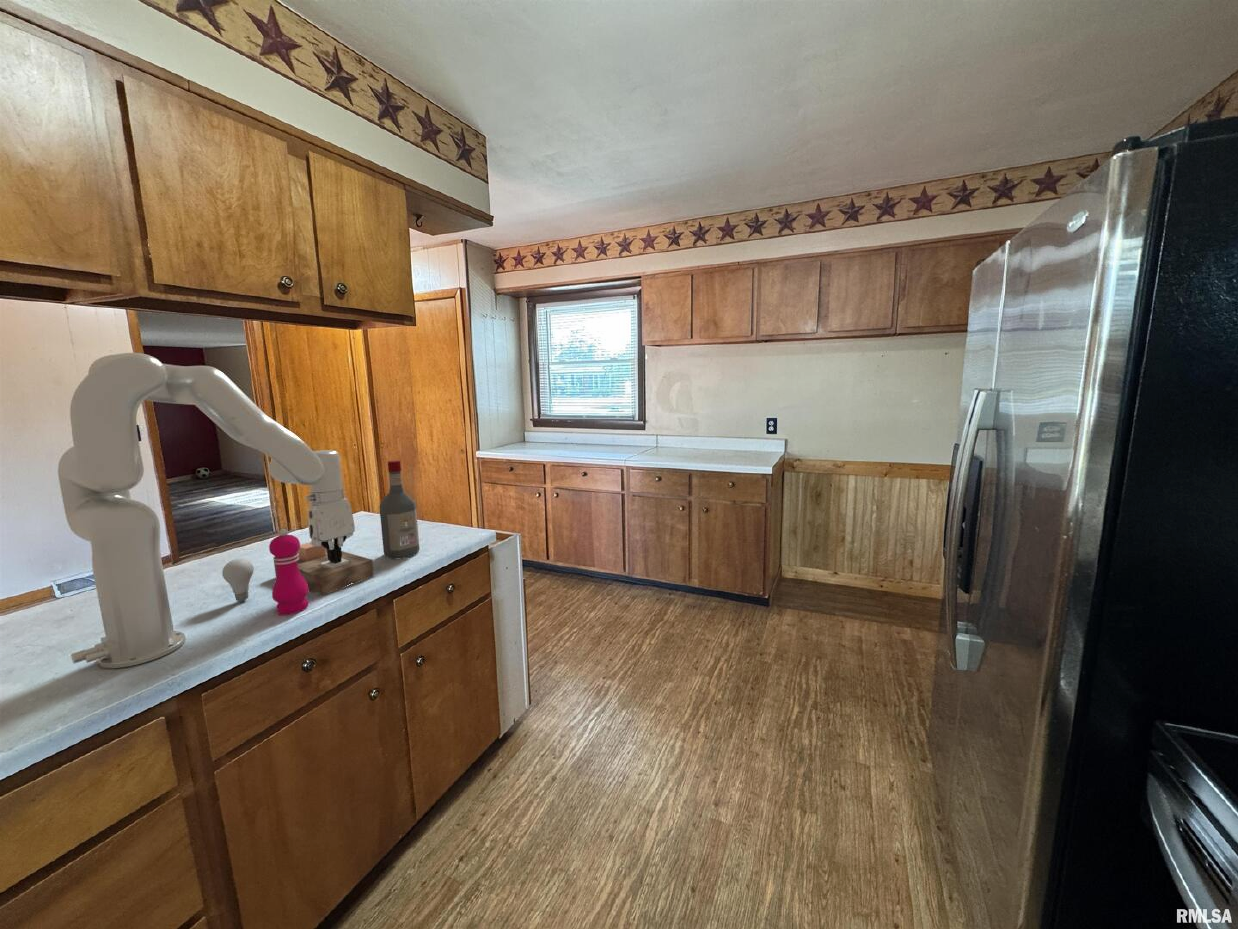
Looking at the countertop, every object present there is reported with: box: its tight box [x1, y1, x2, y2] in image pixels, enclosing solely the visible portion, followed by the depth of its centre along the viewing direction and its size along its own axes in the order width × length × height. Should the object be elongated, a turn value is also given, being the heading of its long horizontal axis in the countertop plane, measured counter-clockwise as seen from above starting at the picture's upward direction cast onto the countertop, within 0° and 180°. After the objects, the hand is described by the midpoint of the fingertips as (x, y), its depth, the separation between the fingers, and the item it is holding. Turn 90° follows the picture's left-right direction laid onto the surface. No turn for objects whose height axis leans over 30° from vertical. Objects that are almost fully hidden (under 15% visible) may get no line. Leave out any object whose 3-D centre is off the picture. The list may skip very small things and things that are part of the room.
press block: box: [273, 547, 375, 596], centre depth 135 cm, size 14×24×5 cm, turn 59°
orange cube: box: [297, 542, 325, 561], centre depth 138 cm, size 5×5×5 cm
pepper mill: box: [268, 528, 310, 616], centre depth 114 cm, size 7×7×20 cm
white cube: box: [320, 558, 349, 569], centre depth 132 cm, size 5×5×5 cm
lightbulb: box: [221, 558, 254, 603], centre depth 120 cm, size 6×6×11 cm
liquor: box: [378, 460, 421, 559], centre depth 152 cm, size 9×9×30 cm
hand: (335, 561), depth 132 cm, fingers closed
